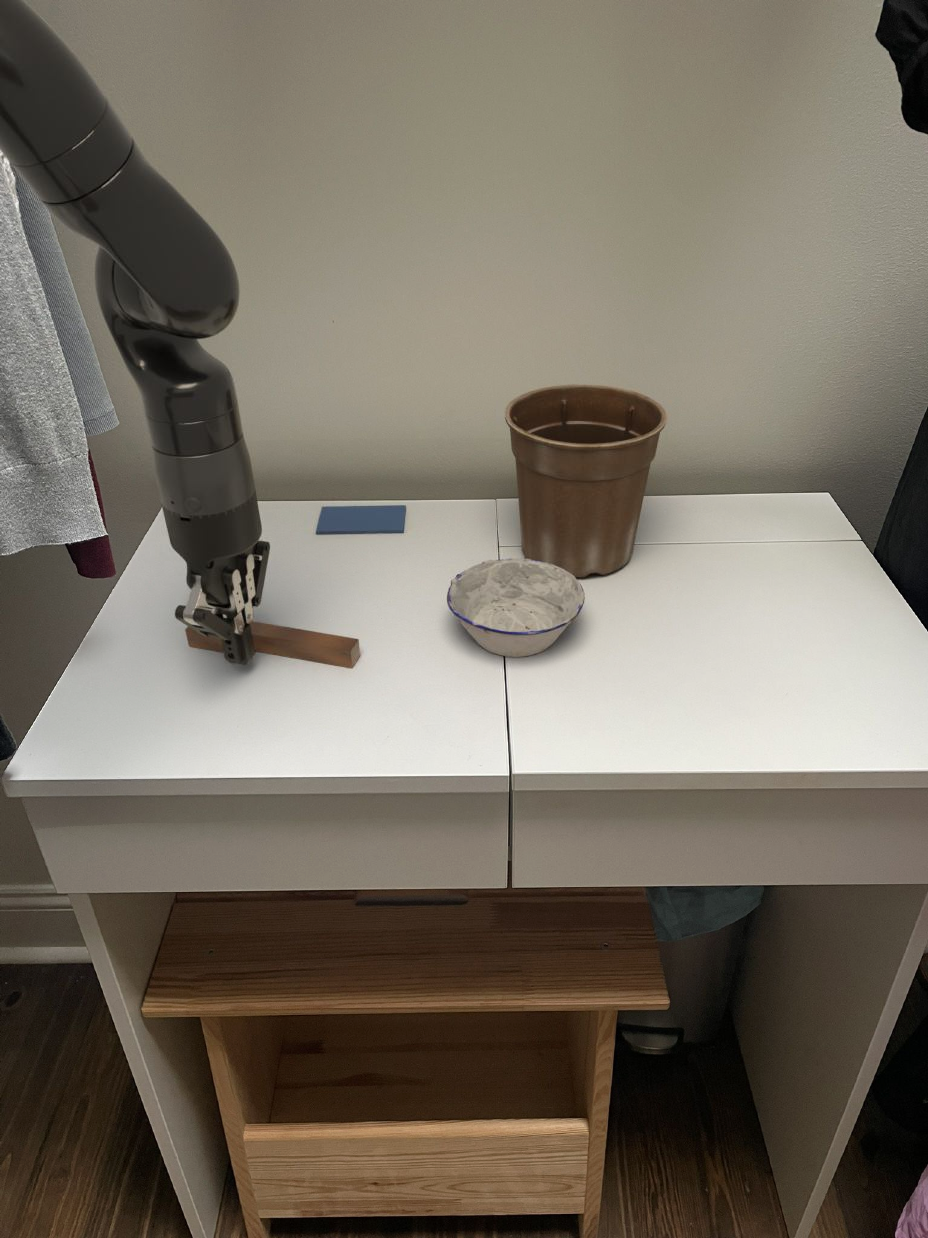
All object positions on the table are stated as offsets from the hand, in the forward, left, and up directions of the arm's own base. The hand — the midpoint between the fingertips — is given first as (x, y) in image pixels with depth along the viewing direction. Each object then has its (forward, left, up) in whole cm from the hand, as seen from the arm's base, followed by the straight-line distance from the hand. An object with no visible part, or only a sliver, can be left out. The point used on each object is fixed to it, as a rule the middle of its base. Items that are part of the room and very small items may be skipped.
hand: (241, 659), depth 86 cm
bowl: (+25, -7, -2) cm, 26 cm away
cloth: (+21, +21, -2) cm, 30 cm away
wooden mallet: (+4, +2, -2) cm, 5 cm away
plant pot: (+39, +3, -2) cm, 39 cm away
